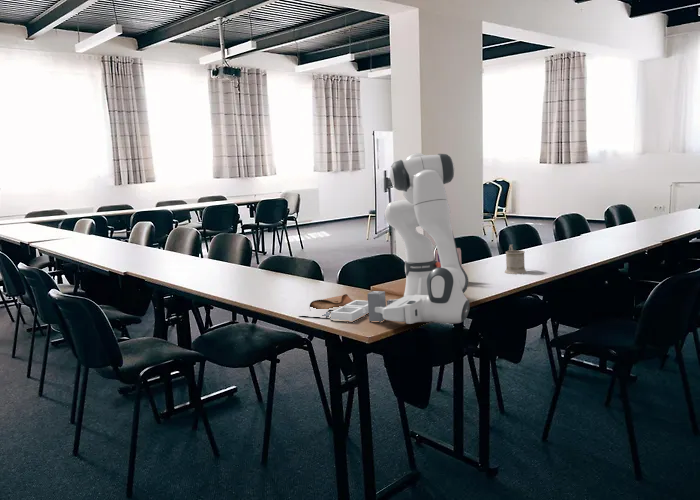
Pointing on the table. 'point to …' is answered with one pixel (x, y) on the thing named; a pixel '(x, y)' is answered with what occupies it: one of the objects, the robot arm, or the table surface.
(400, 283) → the table surface
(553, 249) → the table surface
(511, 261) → the stone pedestal
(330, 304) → the sunglasses case
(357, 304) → the white compartment tray
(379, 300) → the block
